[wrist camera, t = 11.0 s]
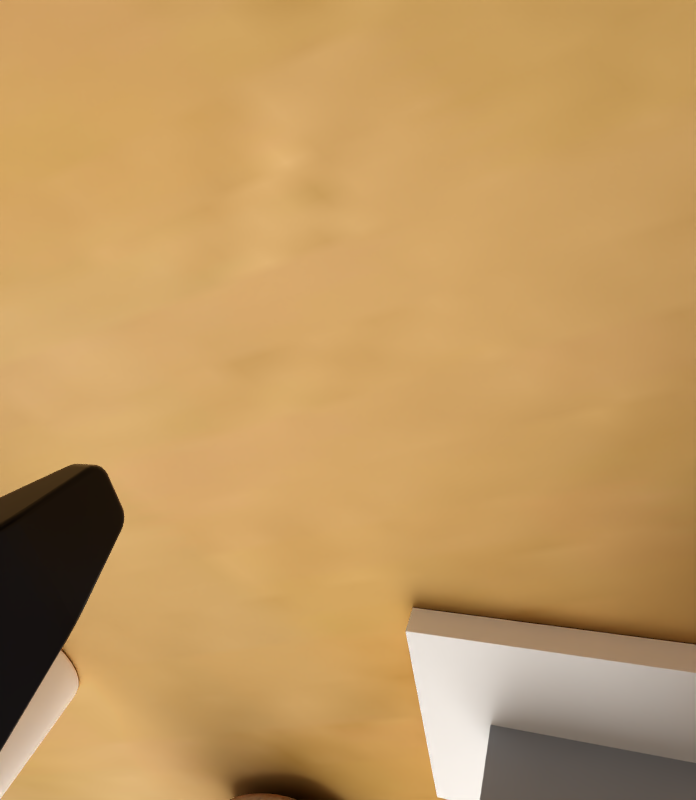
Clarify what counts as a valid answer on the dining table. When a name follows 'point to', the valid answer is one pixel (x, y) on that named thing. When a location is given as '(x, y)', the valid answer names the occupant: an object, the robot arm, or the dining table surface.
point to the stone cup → (261, 797)
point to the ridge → (553, 710)
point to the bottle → (38, 718)
